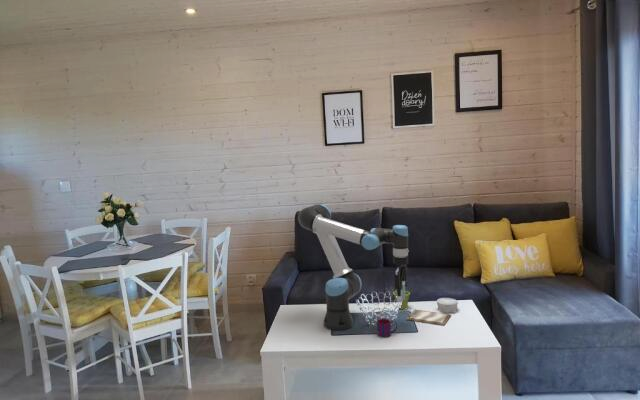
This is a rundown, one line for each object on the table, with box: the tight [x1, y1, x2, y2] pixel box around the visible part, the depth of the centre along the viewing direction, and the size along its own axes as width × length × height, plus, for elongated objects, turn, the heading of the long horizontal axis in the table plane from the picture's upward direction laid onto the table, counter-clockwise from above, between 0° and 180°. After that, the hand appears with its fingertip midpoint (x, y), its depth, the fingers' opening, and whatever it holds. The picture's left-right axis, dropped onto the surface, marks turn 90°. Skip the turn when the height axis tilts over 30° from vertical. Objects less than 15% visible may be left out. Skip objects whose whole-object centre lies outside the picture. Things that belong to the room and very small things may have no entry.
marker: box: [395, 281, 406, 301], centre depth 227 cm, size 3×3×10 cm
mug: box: [376, 318, 398, 338], centre depth 216 cm, size 7×10×7 cm
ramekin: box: [436, 297, 459, 314], centre depth 244 cm, size 11×11×5 cm
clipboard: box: [405, 309, 452, 327], centre depth 234 cm, size 20×15×1 cm
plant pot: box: [392, 290, 411, 310], centre depth 251 cm, size 9×9×9 cm
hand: (401, 300), depth 227 cm, fingers closed on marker, 3 cm apart
